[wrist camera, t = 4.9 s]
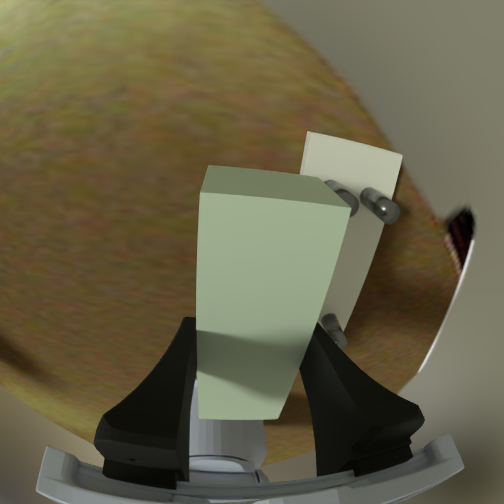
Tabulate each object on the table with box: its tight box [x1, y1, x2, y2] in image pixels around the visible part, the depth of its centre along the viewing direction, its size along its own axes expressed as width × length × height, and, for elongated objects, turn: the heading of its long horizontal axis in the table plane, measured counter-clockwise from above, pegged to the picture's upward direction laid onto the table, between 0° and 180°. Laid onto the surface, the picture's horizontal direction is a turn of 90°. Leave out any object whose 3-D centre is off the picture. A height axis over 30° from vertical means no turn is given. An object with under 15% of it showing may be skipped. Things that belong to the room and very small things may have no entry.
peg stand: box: [300, 131, 403, 350], centre depth 20 cm, size 18×7×4 cm, turn 172°
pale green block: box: [196, 165, 351, 420], centre depth 14 cm, size 14×5×4 cm, turn 173°
